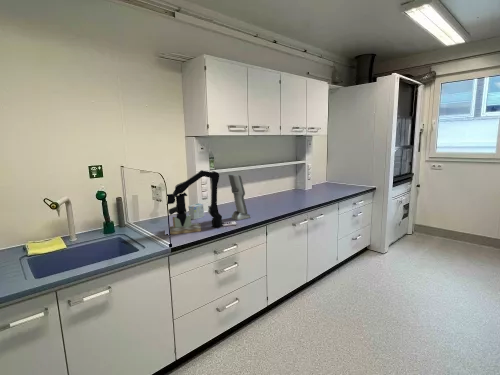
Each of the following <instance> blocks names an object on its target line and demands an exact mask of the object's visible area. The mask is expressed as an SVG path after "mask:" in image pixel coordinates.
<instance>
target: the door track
mask: <svg viewBox="0 0 500 375" xmlns="http://www.w3.org/2000/svg"><path fill="white" fill-rule="evenodd" d="M191 225H192V226H188V227H179V228H174V227H173V225H172V226H169V227H170V234H171V235H179V234H189V233H196V232H202V226H201V222H200V223H191Z"/></svg>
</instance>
